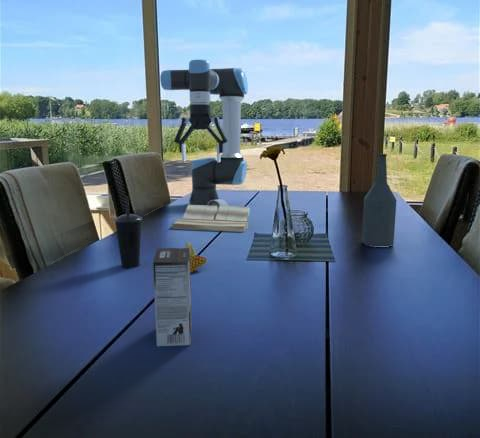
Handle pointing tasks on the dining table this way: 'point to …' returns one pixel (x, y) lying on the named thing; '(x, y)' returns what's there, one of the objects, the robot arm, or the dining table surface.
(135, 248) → the drinking cup
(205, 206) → the plank
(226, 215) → the plank
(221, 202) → the ceramic mug
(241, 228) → the laid board
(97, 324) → the dining table surface
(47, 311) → the dining table surface
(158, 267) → the coffee box
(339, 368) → the dining table surface
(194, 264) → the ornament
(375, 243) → the bottle
